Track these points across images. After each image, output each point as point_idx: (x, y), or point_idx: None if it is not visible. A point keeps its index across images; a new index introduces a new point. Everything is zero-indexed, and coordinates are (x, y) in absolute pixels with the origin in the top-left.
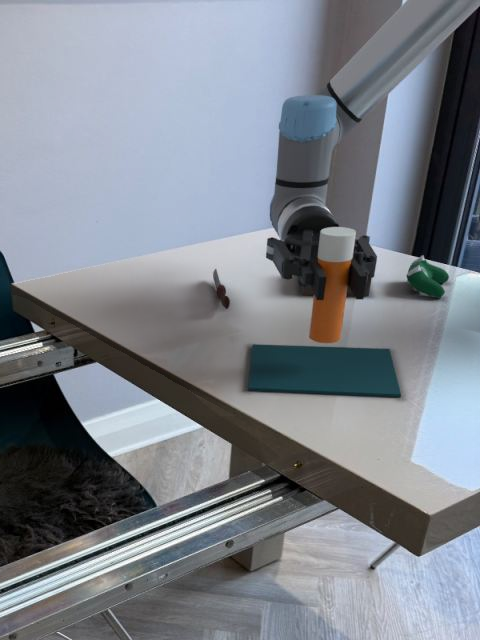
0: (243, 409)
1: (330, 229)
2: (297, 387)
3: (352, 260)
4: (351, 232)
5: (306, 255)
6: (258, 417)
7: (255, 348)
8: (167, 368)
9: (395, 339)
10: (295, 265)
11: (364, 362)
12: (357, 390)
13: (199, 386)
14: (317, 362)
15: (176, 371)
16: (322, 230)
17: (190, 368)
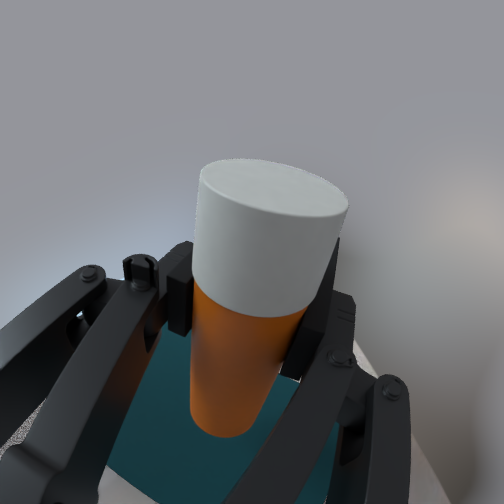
0: (369, 367)
1: (297, 198)
2: (291, 386)
3: (187, 268)
4: (237, 163)
5: (312, 401)
6: (356, 348)
7: None
8: (442, 492)
9: (16, 442)
10: (363, 373)
11: (136, 408)
12: None
13: (411, 435)
14: (211, 449)
15: (433, 482)
16: (338, 206)
17: (416, 491)
